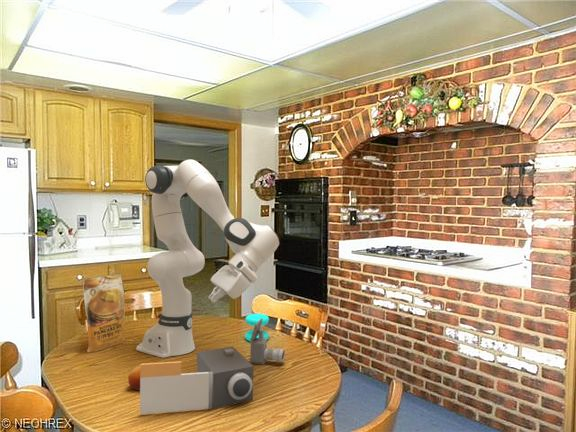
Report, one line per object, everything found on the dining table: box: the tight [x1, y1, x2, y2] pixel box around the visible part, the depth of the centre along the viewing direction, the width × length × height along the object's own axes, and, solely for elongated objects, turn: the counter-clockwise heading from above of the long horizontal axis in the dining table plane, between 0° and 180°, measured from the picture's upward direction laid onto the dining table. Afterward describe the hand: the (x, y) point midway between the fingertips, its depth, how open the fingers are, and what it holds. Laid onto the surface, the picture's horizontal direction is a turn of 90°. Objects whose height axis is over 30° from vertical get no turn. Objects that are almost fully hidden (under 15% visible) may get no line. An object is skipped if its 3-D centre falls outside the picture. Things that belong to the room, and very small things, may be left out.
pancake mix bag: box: [81, 273, 126, 353], centre depth 158 cm, size 7×19×28 cm, turn 149°
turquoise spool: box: [244, 313, 270, 342], centre depth 170 cm, size 10×10×10 cm
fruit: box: [127, 365, 140, 391], centre depth 124 cm, size 8×8×8 cm
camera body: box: [196, 346, 254, 409], centre depth 121 cm, size 20×12×11 cm, turn 27°
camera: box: [249, 318, 286, 365], centre depth 145 cm, size 9×12×15 cm
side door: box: [139, 360, 213, 415], centre depth 109 cm, size 19×1×14 cm, turn 102°
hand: (210, 300), depth 124 cm, fingers closed
